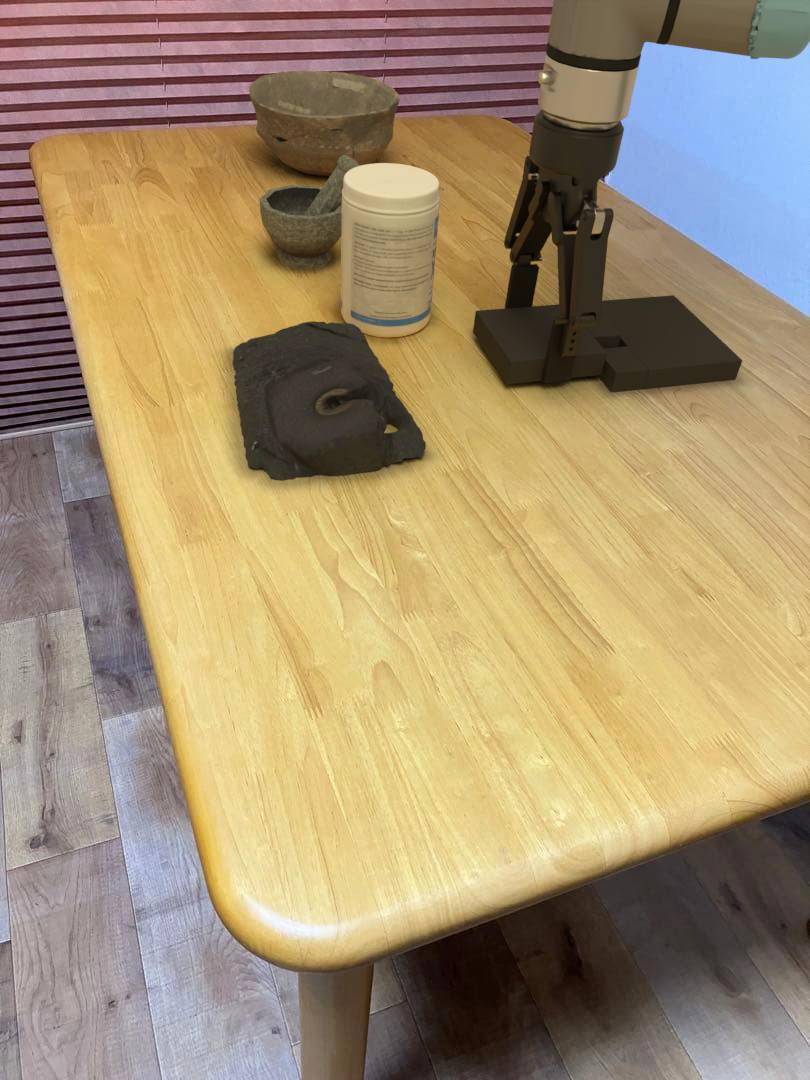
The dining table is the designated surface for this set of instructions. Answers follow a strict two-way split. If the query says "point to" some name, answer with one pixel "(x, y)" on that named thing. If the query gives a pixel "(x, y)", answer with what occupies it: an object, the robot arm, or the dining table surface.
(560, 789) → the dining table surface
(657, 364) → the base pad
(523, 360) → the small pad
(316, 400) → the dark slate chunk
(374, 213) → the supplement tub
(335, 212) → the mortar and pestle
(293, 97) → the bowl
